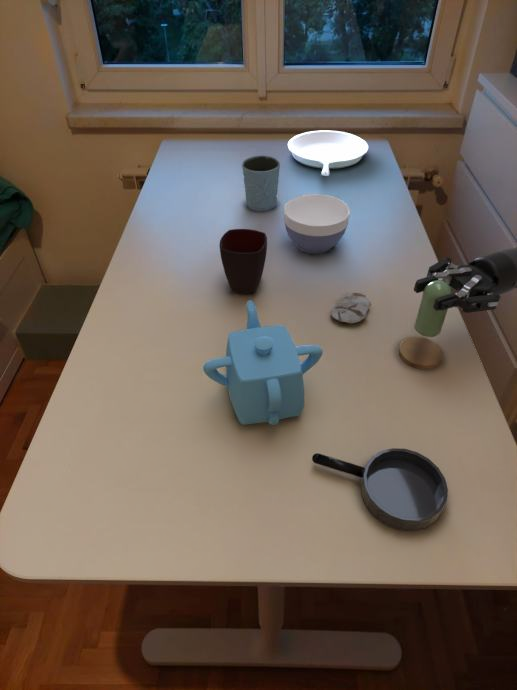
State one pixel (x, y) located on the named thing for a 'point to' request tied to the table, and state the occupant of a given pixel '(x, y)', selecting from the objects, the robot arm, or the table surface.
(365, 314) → the stone
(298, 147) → the pan
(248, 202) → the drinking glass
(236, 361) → the teapot
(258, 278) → the cup
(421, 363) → the disc
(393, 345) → the table surface
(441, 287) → the green capsule
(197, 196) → the table surface
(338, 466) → the pan handle
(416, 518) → the steel pan
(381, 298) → the table surface
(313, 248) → the bowl
